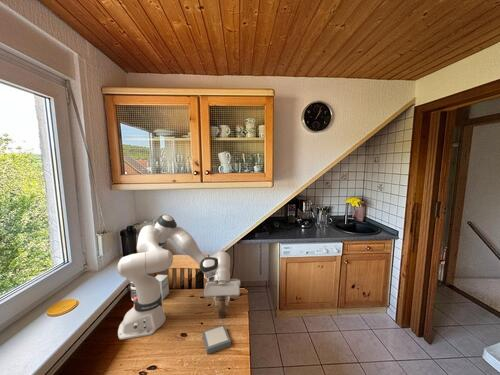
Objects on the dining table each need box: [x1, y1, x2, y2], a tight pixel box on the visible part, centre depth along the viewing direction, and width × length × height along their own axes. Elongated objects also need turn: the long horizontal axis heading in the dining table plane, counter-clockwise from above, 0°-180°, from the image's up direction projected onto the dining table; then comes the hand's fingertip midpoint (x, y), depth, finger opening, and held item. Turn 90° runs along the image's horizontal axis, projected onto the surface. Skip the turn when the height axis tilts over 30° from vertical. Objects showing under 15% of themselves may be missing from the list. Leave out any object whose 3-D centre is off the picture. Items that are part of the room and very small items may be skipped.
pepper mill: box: [217, 296, 227, 319], centre depth 120 cm, size 4×4×11 cm
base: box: [201, 324, 232, 355], centre depth 104 cm, size 11×11×3 cm
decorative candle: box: [129, 280, 137, 301], centre depth 137 cm, size 9×9×25 cm
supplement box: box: [154, 274, 170, 301], centre depth 138 cm, size 7×7×13 cm
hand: (221, 305), depth 119 cm, fingers closed on pepper mill, 4 cm apart
